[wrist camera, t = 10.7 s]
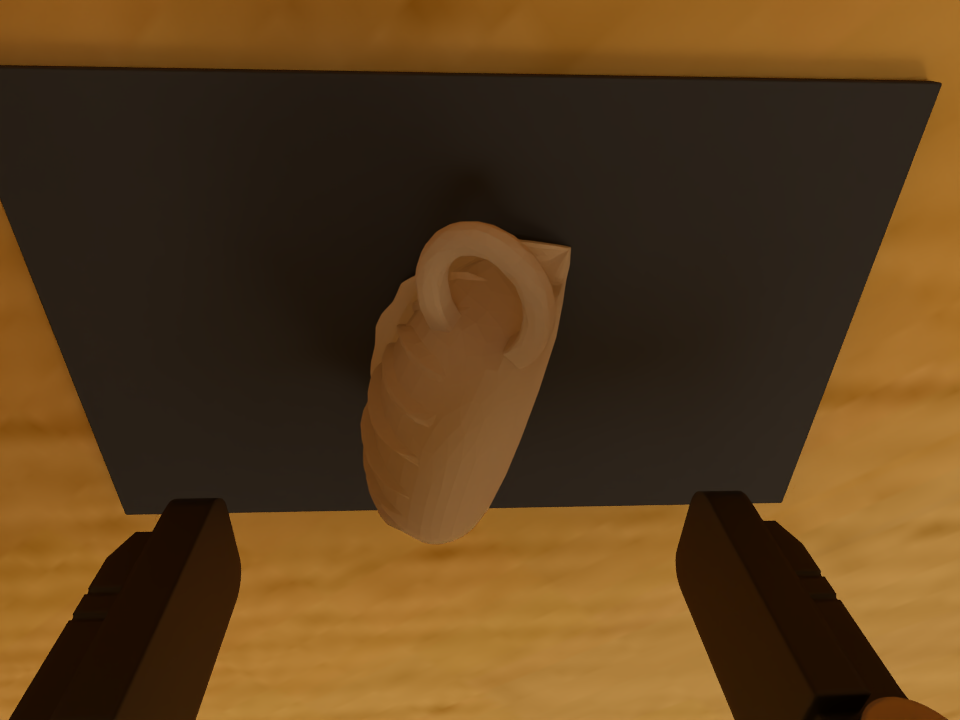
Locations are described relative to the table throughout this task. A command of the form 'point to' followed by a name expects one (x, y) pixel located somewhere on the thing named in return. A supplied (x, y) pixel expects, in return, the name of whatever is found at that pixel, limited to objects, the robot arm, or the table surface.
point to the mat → (400, 240)
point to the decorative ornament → (458, 376)
